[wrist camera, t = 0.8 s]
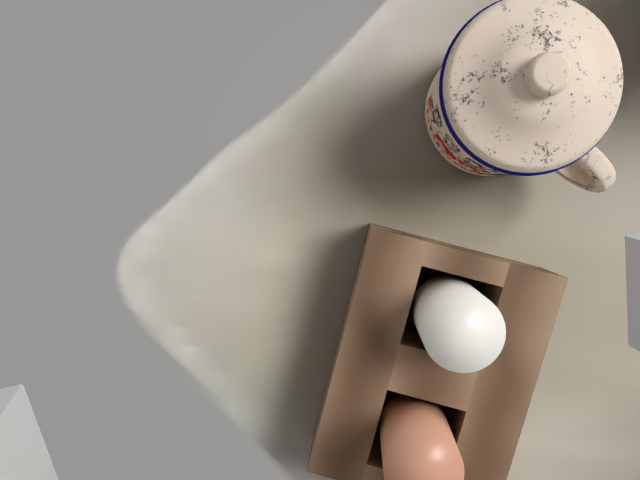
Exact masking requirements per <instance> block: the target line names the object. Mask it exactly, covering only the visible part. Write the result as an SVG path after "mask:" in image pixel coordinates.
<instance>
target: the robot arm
mask: <svg viewBox="0 0 640 480" xmlns="http://www.w3.org/2000/svg"><path fill="white" fill-rule="evenodd" d="M625 252H626V282H627V312H628V341H629V346H631V347H633V348H635V349H636V350H638V351H640V232H638V233H634V234H630V235H626V236H625ZM0 480H58V477H57V475H56V472H55V469H54V466H53V464H52V461H51V458H50V456H49V453H48V450H47V448H46V445H45V442H44V440H43V437H42V434H41V431H40V429H39V426H38V424H37V421H36V418H35V415H34V413H33V410H32V407H31V405H30V402H29V399H28V397H27V394H26V391H25V388H24V386H23V384H20V385H15V386H11V387H8V388H3V389H0Z"/></svg>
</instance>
